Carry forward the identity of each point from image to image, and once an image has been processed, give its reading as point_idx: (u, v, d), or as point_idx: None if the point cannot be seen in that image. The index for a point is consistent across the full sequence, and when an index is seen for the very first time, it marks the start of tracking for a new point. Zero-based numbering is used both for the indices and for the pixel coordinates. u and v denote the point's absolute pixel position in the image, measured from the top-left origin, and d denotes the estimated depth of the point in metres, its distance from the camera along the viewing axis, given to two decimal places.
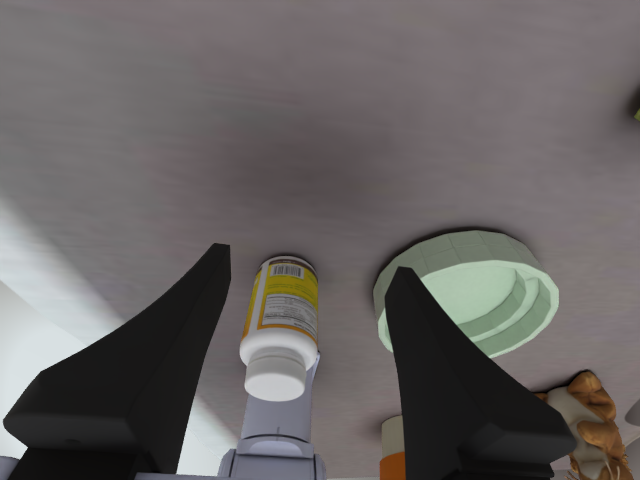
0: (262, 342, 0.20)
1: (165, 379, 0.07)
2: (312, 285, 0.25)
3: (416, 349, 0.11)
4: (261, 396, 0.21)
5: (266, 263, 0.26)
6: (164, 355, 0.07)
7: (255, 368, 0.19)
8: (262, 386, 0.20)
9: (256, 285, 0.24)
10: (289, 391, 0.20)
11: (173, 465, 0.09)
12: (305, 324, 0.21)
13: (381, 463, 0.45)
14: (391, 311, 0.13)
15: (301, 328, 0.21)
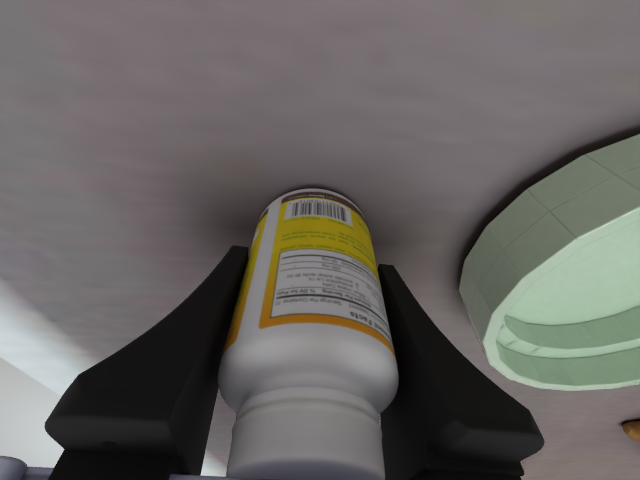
0: (273, 362, 0.08)
1: (196, 381, 0.07)
2: (368, 240, 0.13)
3: None
4: None
5: (276, 201, 0.13)
6: (196, 358, 0.07)
7: (255, 433, 0.07)
8: None
9: (257, 240, 0.12)
10: None
11: (198, 467, 0.09)
12: (373, 316, 0.09)
13: None
14: None
15: (367, 325, 0.09)
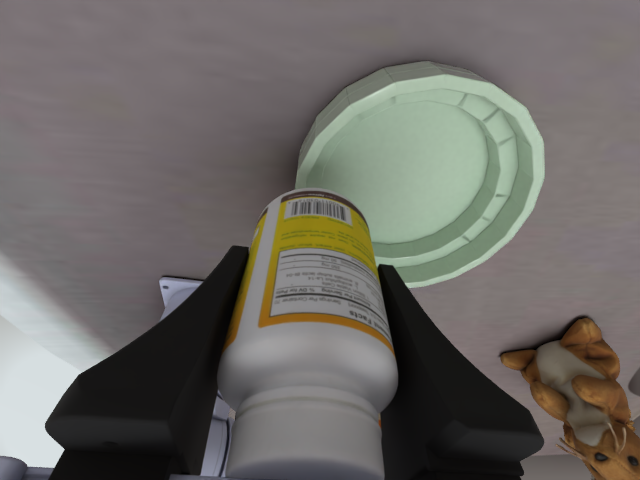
0: (272, 361, 0.08)
1: (197, 381, 0.07)
2: (367, 239, 0.13)
3: (393, 347, 0.11)
4: None
5: (276, 200, 0.13)
6: (196, 358, 0.07)
7: (254, 433, 0.07)
8: None
9: (256, 239, 0.12)
10: None
11: (199, 466, 0.09)
12: (373, 315, 0.09)
13: None
14: None
15: (367, 324, 0.09)
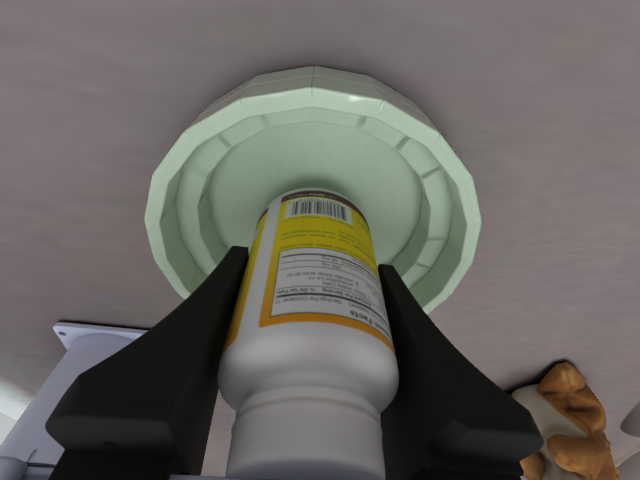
0: (273, 361, 0.08)
1: (197, 381, 0.07)
2: (368, 239, 0.13)
3: None
4: None
5: (276, 200, 0.13)
6: (196, 358, 0.07)
7: (255, 433, 0.07)
8: (274, 479, 0.07)
9: (257, 239, 0.12)
10: None
11: (199, 466, 0.09)
12: (373, 315, 0.09)
13: None
14: None
15: (368, 324, 0.08)
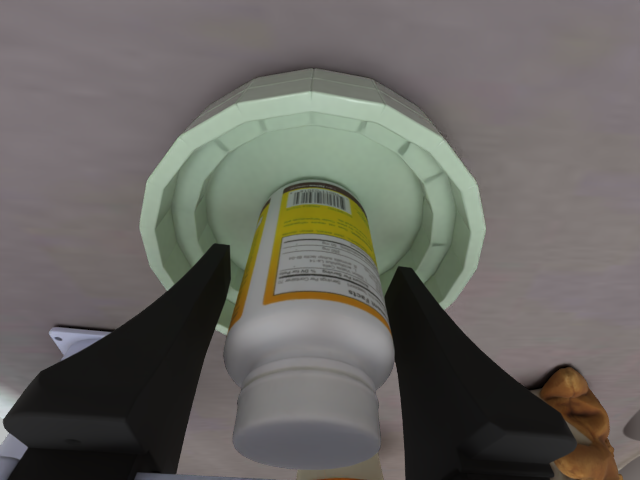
0: (276, 335, 0.08)
1: (165, 379, 0.07)
2: (366, 229, 0.13)
3: (416, 349, 0.11)
4: (273, 462, 0.09)
5: (278, 191, 0.14)
6: (164, 355, 0.07)
7: (260, 399, 0.07)
8: (277, 444, 0.08)
9: (260, 227, 0.13)
10: (343, 453, 0.08)
11: (173, 465, 0.09)
12: (370, 295, 0.10)
13: None
14: (391, 311, 0.13)
15: (365, 303, 0.09)
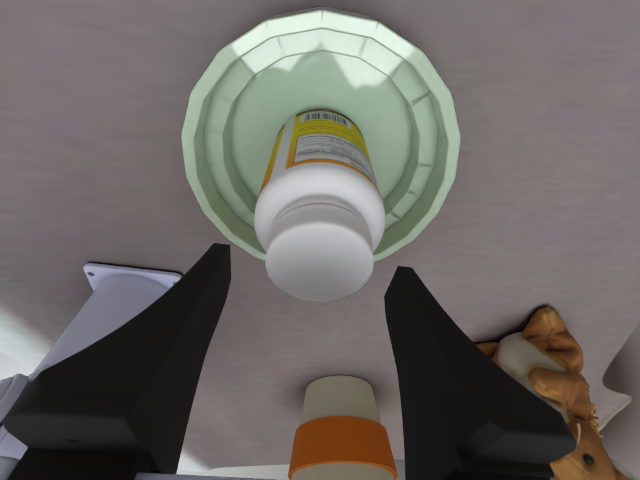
0: (297, 185, 0.11)
1: (165, 378, 0.07)
2: (364, 144, 0.16)
3: (416, 349, 0.11)
4: (293, 289, 0.12)
5: (291, 117, 0.17)
6: (164, 355, 0.07)
7: (286, 221, 0.10)
8: (298, 260, 0.11)
9: (277, 141, 0.16)
10: (346, 273, 0.11)
11: (173, 465, 0.09)
12: (367, 171, 0.12)
13: (295, 435, 0.36)
14: (391, 311, 0.13)
15: (362, 172, 0.12)
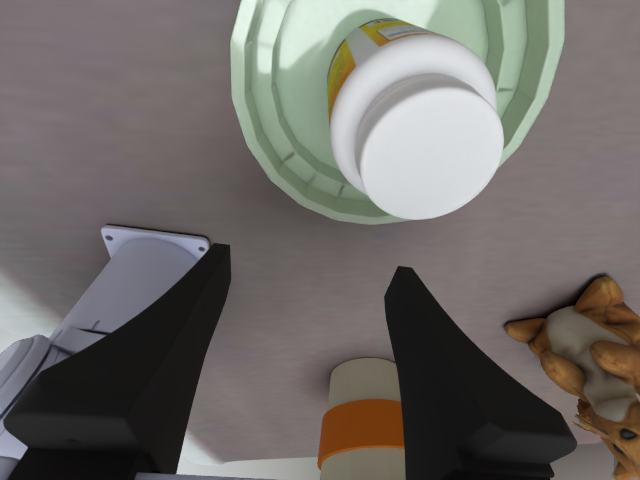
0: (400, 59, 0.09)
1: (165, 379, 0.07)
2: None
3: (416, 349, 0.11)
4: (389, 199, 0.09)
5: (353, 30, 0.14)
6: (164, 355, 0.07)
7: (396, 97, 0.08)
8: (405, 152, 0.08)
9: (342, 51, 0.13)
10: (462, 174, 0.09)
11: (173, 465, 0.09)
12: None
13: (323, 420, 0.34)
14: (391, 311, 0.13)
15: None
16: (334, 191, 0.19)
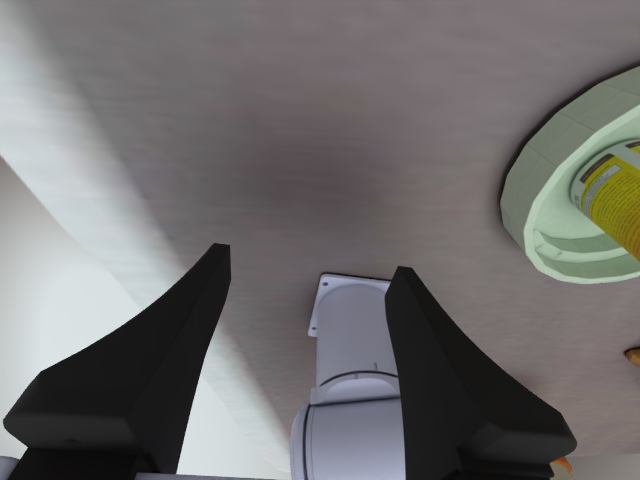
0: None
1: (165, 378, 0.07)
2: None
3: (416, 349, 0.11)
4: None
5: (618, 148, 0.19)
6: (164, 355, 0.07)
7: None
8: None
9: (627, 170, 0.18)
10: None
11: (173, 465, 0.09)
12: None
13: None
14: (391, 311, 0.13)
15: None
16: (552, 255, 0.23)
